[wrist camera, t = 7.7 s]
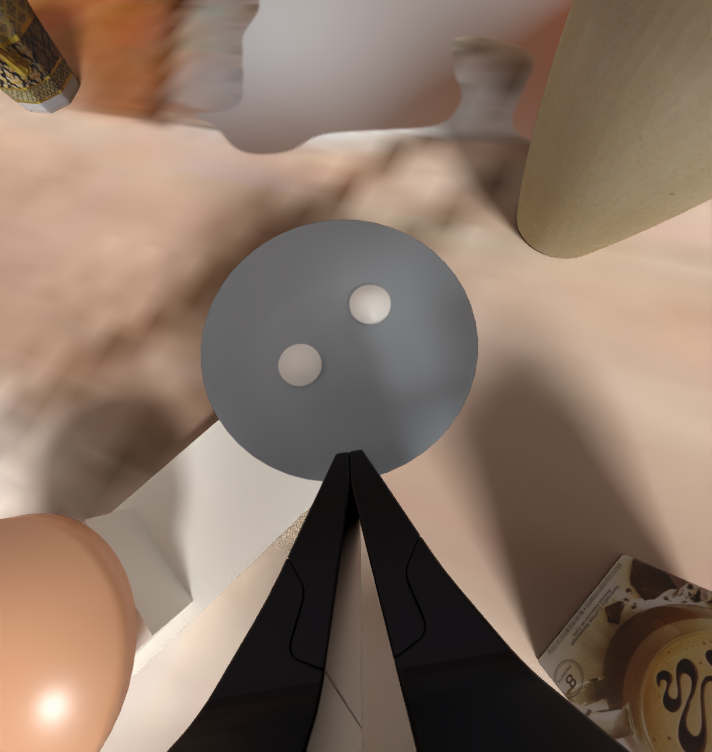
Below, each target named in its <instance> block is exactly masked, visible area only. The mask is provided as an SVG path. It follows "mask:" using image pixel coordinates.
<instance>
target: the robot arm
mask: <svg viewBox="0 0 712 752" xmlns="http://www.w3.org/2000/svg"><path fill="white" fill-rule="evenodd" d="M360 524H361V528H362V532H363V536H364V540H365V544H366V548H367V552H368V556H369V560H370V564H371V568H372V572H373V576H374V580H375V585H376V589H377V593H378V597H379V601H380V605H381V609H382V613H383V617H384V621H385V625H386V629H387V633H388V637H389V641H390V645H391V649H392V653H393V657H394V661H395V666H396V670H397V674H398V678H399V682H400V686H401V690H402V694H403V698H404V702H405V706H406V710H407V714H408V718H409V722H410V726H411V730H412V734H413V738H414V743H415V747H416V751H417V752H630V751H629V750H628V749H626V748H625V747H624V746H623V745H622V744H620V743H619V742H618V741H617V740H615V739H614V738H613V737H612V736H611V735H609V734H608V733H607V732H606V731H604V730H603V729H602V728H601V727H600V726H598V725H597V724H596V723H595V722H594V721H592V720H591V719H590V718H589V717H587V716H586V715H585V714H584V713H583V712H581V711H580V710H579V709H578V708H576V707H575V706H574V705H573V704H572V703H570V702H569V701H568V700H567V699H566V698H564V697H563V696H562V695H561V694H559V693H558V692H557V691H556V690H555V689H553V688H552V687H551V686H550V685H548V684H547V683H546V682H545V681H544V680H542V679H541V678H540V677H539V676H538V675H537V674H536V673H535V672H534V671H532V670H531V669H530V668H529V667H528V666H527V665H526V664H525V663H524V662H523V661H522V660H521V659H520V657H519V656H518V655H517V654H516V653H515V652H514V651H513V650H512V649H511V648H510V647H509V646H508V644H507V643H506V642H505V641H504V640H503V639H502V638H501V636H500V635H499V634H498V633H497V632H496V630H495V629H494V628H493V627H492V626H491V625H490V623H489V622H488V621H487V620H486V619H485V618H484V616H483V615H482V614H481V613H480V612H479V611H478V609H477V608H476V607H475V606H474V605H473V604H472V602H471V601H470V600H469V599H468V598H467V596H466V595H465V594H464V593H463V592H462V591H461V589H460V588H459V587H458V586H457V585H456V583H455V582H454V581H453V580H452V578H451V577H450V576H449V575H448V573H447V572H446V571H445V570H444V568H443V567H442V566H441V564H440V563H439V561H438V560H437V559H436V557H435V556H434V555H433V553H432V552H431V550H430V549H429V547H428V546H427V544H426V543H425V541H424V540H423V539H422V537H420V534H419V533H418V531H417V530H416V528H415V527H414V525H413V524H412V522H411V521H410V519H409V518H408V516H407V515H406V513H405V512H404V511H403V509H402V508H401V506H400V505H399V503H398V502H397V500H396V499H395V497H394V496H393V494H392V493H391V491H390V490H389V488H388V487H387V485H386V484H385V482H384V481H383V479H382V478H381V476H380V475H379V473H378V472H377V470H376V469H375V467H374V466H373V464H372V463H371V461H370V460H369V458H368V457H367V455H366V454H365V453H364V451H363V450H361V449H360V450H354V451H350V453H349V452H342V453H337V454H336V455H335V457H334V459H333V461H332V463H331V465H330V467H329V469H328V472H327V474H326V476H325V478H324V480H323V482H322V484H321V487H320V489H319V491H318V493H317V495H316V497H315V499H314V502H313V504H312V506H311V508H310V510H309V512H308V514H307V516H306V519H305V521H304V523H303V525H302V527H301V529H300V531H299V534H298V536H297V538H296V540H295V542H294V544H293V546H292V549H291V551H290V553H289V555H288V559H287V560H286V561H285V563H284V565H283V567H282V570H281V572H280V574H279V576H278V578H277V580H276V582H275V584H274V586H273V588H272V590H271V592H270V594H269V596H268V598H267V600H266V601H265V603H264V605H263V607H262V609H261V610H260V612H259V614H258V616H257V618H256V619H255V621H254V623H253V625H252V626H251V628H250V630H249V631H248V633H247V635H246V637H245V638H244V640H243V642H242V643H241V645H240V647H239V648H238V650H237V652H236V654H235V655H234V657H233V659H232V660H231V662H230V664H229V666H228V667H227V669H226V671H225V672H224V674H223V676H222V678H221V679H220V681H219V683H218V684H217V686H216V688H215V689H214V691H213V693H212V694H211V696H210V698H209V699H208V701H207V702H206V704H205V705H204V707H203V708H202V710H201V711H200V713H199V714H198V715H197V717H196V718H195V719H194V721H193V722H192V723H191V725H190V726H189V727H188V728H187V730H186V731H185V732H184V733H183V734H182V736H181V737H180V738H179V739H178V740H177V741H176V742H175V743H174V744H173V745H172V747H171V748H170V749H169V750H168V751H167V752H362V729H361V728H362V660H361V541H360Z"/></svg>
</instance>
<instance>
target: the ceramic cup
mask: <svg viewBox="0 0 712 752" xmlns="http://www.w3.org/2000/svg"><path fill="white" fill-rule="evenodd" d="M0 89H1V90H2V91H3V92H5V93H6V94H7V95H8V96H10V97H11V98H12V99H13V100H15V101H16V102H17V103H19V104H20V105H21V106H22V107H24V108H25V109H27V110H29V111H31V112H40V113H52V112H54V111H56V110H58V109H60V108H62V107H64V106H66V105H68V104H70V103H71V101H72V100H73V98H74V96H75V94H76V92H77V91H78V89H79V83H78V81H77V79H76V77H75V76H74V74H73V72H72V71H71V69H70V67H69V66H68V64H67V63H66V61H65V59H64V58H63V56H62V55H61V53H60V52H59V50H58V49H57V47H56V46H55V44H54V43H53V41H52V40H51V38H50V36H49V35H48V33H47V32H46V30H45V29H44V27H43V26H42V24H41V22H40V21H39V19H38V18H37V16H36V15H35V13H34V11H33V10H32V8H31V6H30V4H29V2H28V1H27V0H0Z"/></svg>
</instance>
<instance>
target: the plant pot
mask: <svg viewBox="0 0 712 752" xmlns="http://www.w3.org/2000/svg"><path fill="white" fill-rule="evenodd" d="M710 199H712V0H574V1H573V3H572V6H571V9H570V12H569V15H568V18H567V21H566V24H565V27H564V30H563V33H562V36H561V39H560V42H559V45H558V48H557V51H556V54H555V57H554V61H553V64H552V68H551V71H550V74H549V78H548V81H547V84H546V88H545V91H544V94H543V98H542V101H541V105H540V108H539V112H538V116H537V119H536V123H535V127H534V131H533V135H532V139H531V143H530V147H529V151H528V155H527V160H526V164H525V169H524V174H523V179H522V184H521V190H520V196H519V202H518V209H517V225H518V229H519V231H520V233H521V235H522V237H523V238H524V239H525V241H526V242H527V243H528V244H529V245H531V246H532V247H533V248H534V249H536V250H537V251H539V252H541V253H543V254H546V255H548V256H552V257H556V258H576V257H580V256H583V255H586V254H589V253H591V252H594V251H597V250H599V249H602V248H604V247H607V246H609V245H612V244H614V243H617V242H619V241H622V240H624V239H626V238H629V237H631V236H633V235H635V234H638V233H640V232H642V231H645V230H647V229H649V228H651V227H653V226H656V225H658V224H660V223H662V222H664V221H666V220H669V219H671V218H673V217H675V216H677V215H679V214H681V213H683V212H685V211H687V210H689V209H691V208H693V207H695V206H697V205H700V204H702V203H704V202H706V201H708V200H710Z"/></svg>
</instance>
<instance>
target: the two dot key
mask: <svg viewBox="0 0 712 752" xmlns="http://www.w3.org/2000/svg"><path fill="white" fill-rule="evenodd" d="M477 357H478V337H477V329H476V322H475V318H474V314H473V311H472V307H471V304H470V302H469V300H468V297H467V295H466V293H465V290H464V289H463V287H462V285H461V284H460V282H459V280H458V279H457V277H456V275H455V274H454V273H453V272H452V270H451V269H450V268H449V267H448V266H447V264H446V263H445V262H444V261H443V260H442V259H441V258H440V257H439V256H438V255H437V254H436V253H435V252H434V251H432V250H431V249H429V248H428V247H427V246H425V245H424V244H423V243H421V242H420V241H418V240H416V239H415V238H413V237H411V236H409V235H408V234H406V233H403V232H401V231H398V230H396V229H394V228H391V227H388V226H384V225H381V224H377V223H372V222H366V221H360V220H329V221H322V222H316V223H311V224H307V225H304V226H300V227H297V228H294V229H292V230H289V231H287V232H284V233H282V234H280V235H278V236H276V237H274V238H272V239H271V240H269V241H267V242H265V243H264V244H263V245H261V246H260V247H258V248H257V249H255V250H254V251H253V252H251V253H250V254H249V255H248V256H247V257H246V258H245V259H244V260H242V261H241V262H240V263H239V265H238V266H237V267H236V268H235V269H234V270H233V271H232V272H231V273H230V275H229V276H228V277H227V279H226V280H225V282H224V283H223V284H222V286H221V287H220V289H219V291H218V293H217V295H216V297H215V298H214V300H213V302H212V305H211V308H210V310H209V313H208V315H207V318H206V322H205V326H204V330H203V336H202V345H201V368H202V374H203V380H204V385H205V388H206V392H207V395H208V398H209V401H210V403H211V405H212V407H213V409H214V411H215V413H216V416H217V417H218V419H219V420H220V422H221V423H222V425H223V426H224V428H225V429H226V431H227V432H228V433H229V434H230V435H231V436H232V437H233V439H234V440H235V441H236V442H237V443H238V444H239V445H240V446H241V447H242V448H244V449H245V450H246V451H247V452H248V453H250V454H251V455H252V456H253V457H255V458H256V459H258V460H260V461H261V462H263V463H265V464H266V465H268V466H270V467H272V468H274V469H276V470H279V471H281V472H283V473H286V474H288V475H292V476H296V477H299V478H303V479H307V480H315V481H323V480H324V478H325V476H326V474H327V472H328V469H329V467H330V465H331V463H332V461H333V459H334V457H335V455H336V454H337V453H342V452H349V453H350V451H354V450H360V449H361V450H363V451H364V453H365V454H366V455H367V457H368V458H369V460H370V461H371V463H372V464H373V466H374V467H375V469H376V470H377V472H378V473H379V475H381V474H384V473H387V472H389V471H392V470H394V469H396V468H398V467H400V466H402V465H405V464H406V463H408V462H410V461H411V460H413V459H414V458H416V457H417V456H419V455H420V454H422V453H423V452H425V451H426V450H427V449H428V448H429V447H430V446H431V445H433V444H434V443H435V442H436V441H437V440H438V439H439V438H440V437H441V436H442V435H443V434H444V432H445V431H446V430H447V429H448V428H449V427H450V426H451V424H452V423H453V421H454V420H455V418H456V417H457V415H458V414H459V412H460V411H461V409H462V407H463V405H464V403H465V400H466V398H467V396H468V394H469V392H470V389H471V385H472V382H473V379H474V376H475V370H476V364H477Z"/></svg>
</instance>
